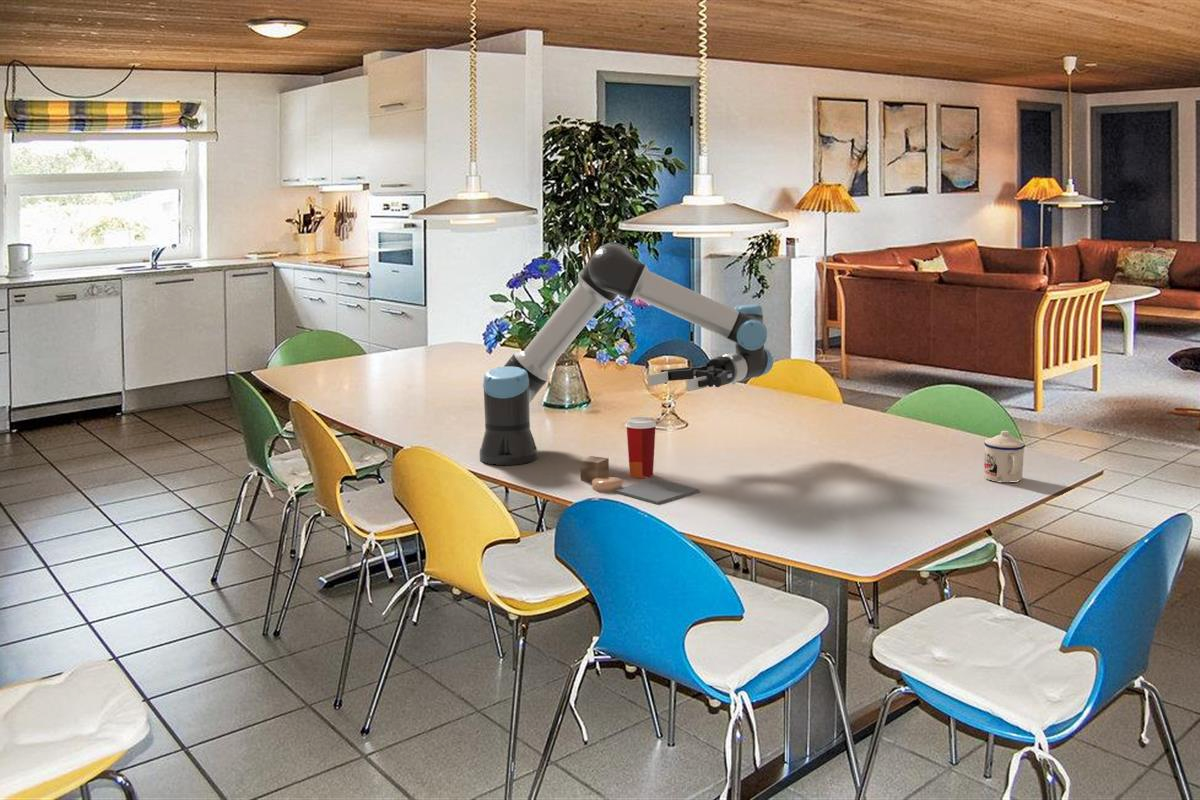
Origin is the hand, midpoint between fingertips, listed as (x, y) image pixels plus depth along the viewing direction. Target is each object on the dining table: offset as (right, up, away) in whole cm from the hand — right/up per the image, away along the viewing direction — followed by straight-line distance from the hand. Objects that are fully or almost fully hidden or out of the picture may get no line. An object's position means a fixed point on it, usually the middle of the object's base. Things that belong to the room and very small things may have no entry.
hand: (667, 383), depth 279 cm
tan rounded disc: (-15, -25, -13) cm, 32 cm away
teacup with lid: (+79, -23, -12) cm, 84 cm away
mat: (-4, -26, -17) cm, 31 cm away
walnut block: (-18, -23, -5) cm, 30 cm away
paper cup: (-7, -23, -2) cm, 24 cm away
